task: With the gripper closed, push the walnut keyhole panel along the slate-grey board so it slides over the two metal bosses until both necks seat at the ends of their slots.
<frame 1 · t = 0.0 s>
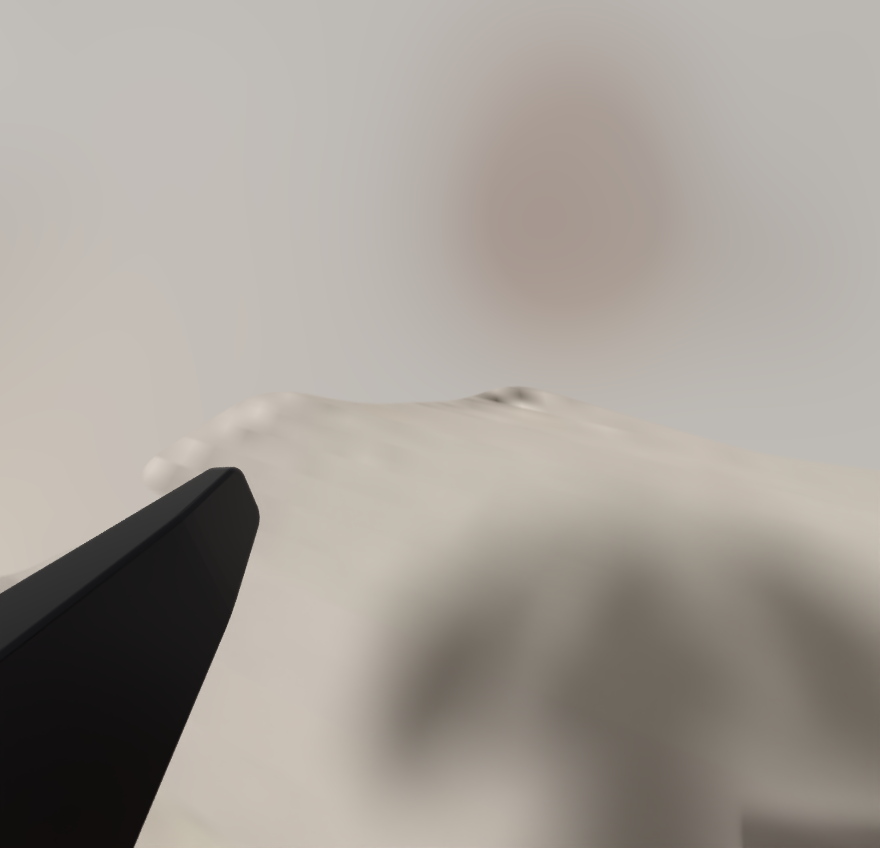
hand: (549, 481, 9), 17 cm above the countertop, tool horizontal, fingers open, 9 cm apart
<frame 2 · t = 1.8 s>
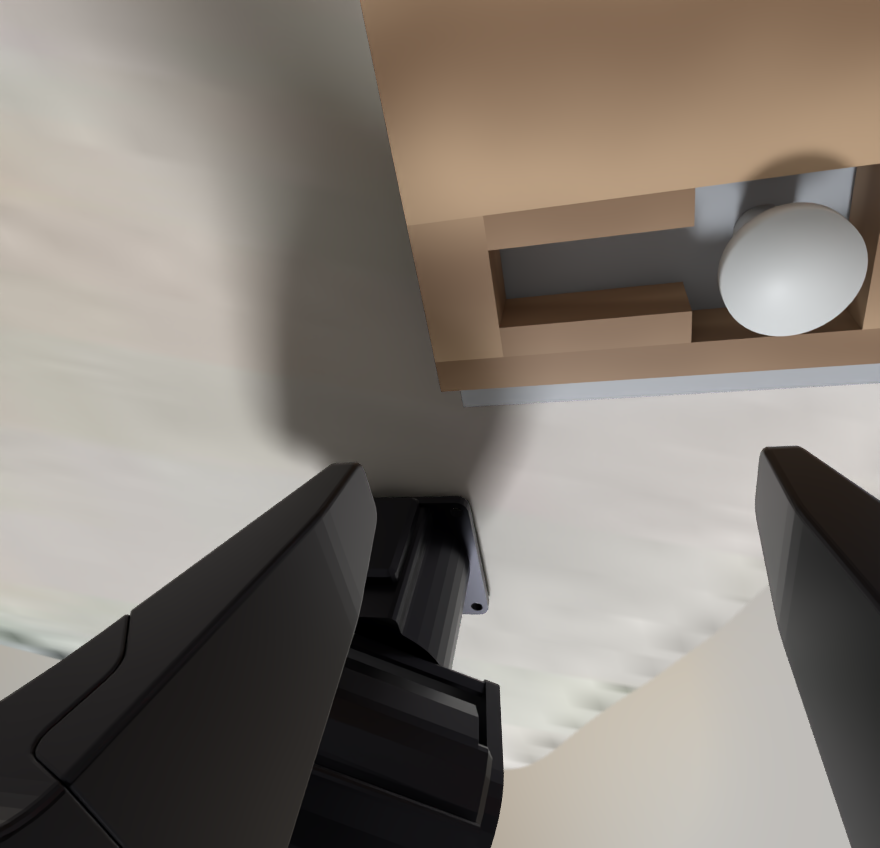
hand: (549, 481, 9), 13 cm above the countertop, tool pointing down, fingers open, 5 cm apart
boss board: (766, 12, 16), on the countertop
panel: (645, 45, 15), point 3 cm above the countertop, slide at 0.0 cm
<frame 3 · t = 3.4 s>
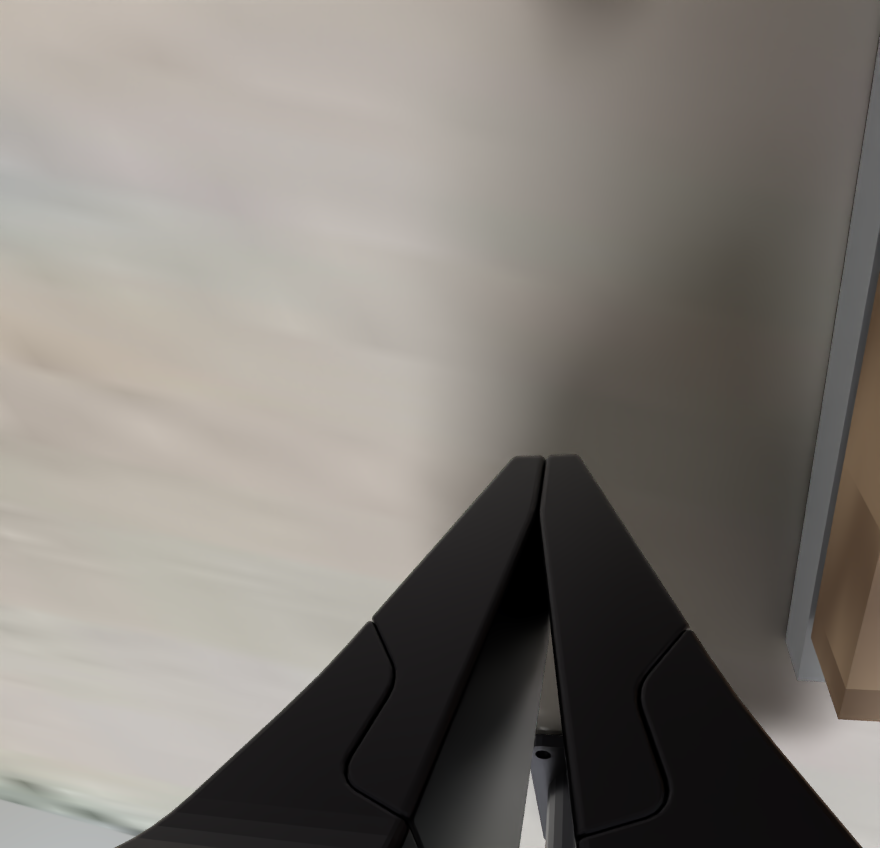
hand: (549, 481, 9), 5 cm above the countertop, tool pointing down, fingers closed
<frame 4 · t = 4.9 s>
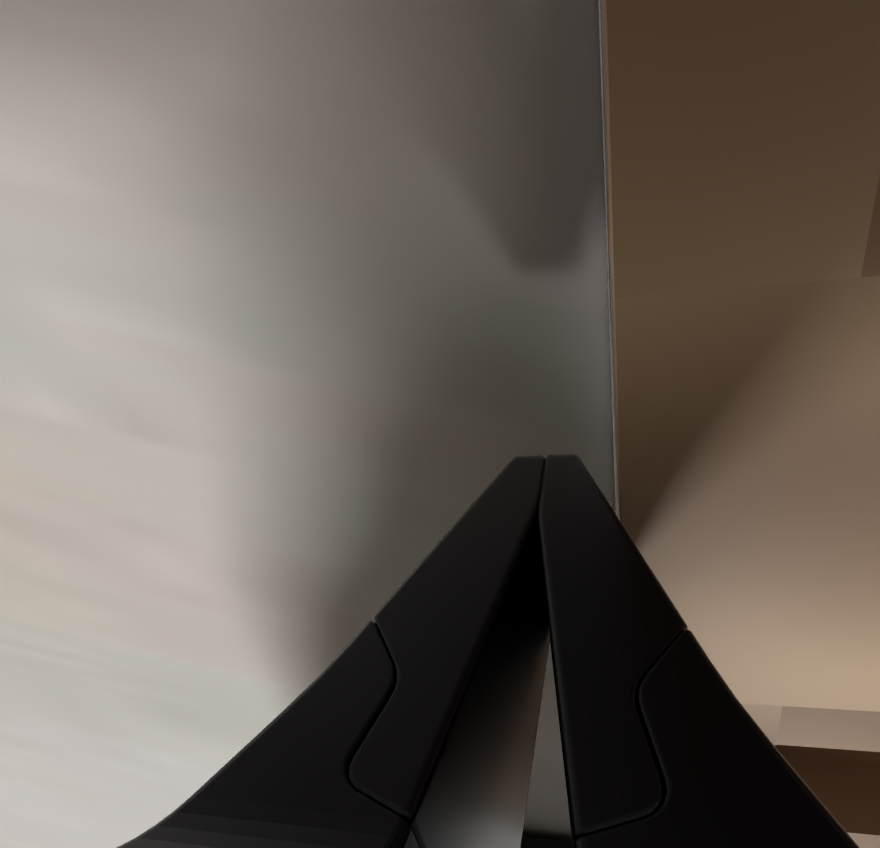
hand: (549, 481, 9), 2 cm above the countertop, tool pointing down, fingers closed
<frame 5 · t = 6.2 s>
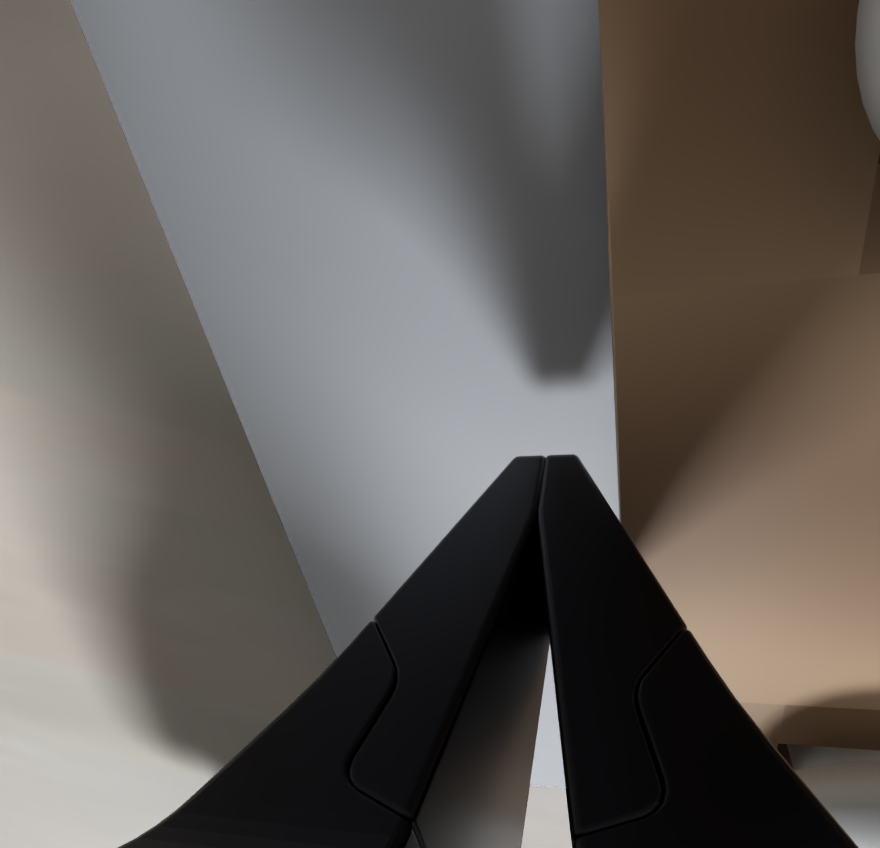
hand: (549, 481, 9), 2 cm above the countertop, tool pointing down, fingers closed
boss board: (828, 372, 10), on the countertop
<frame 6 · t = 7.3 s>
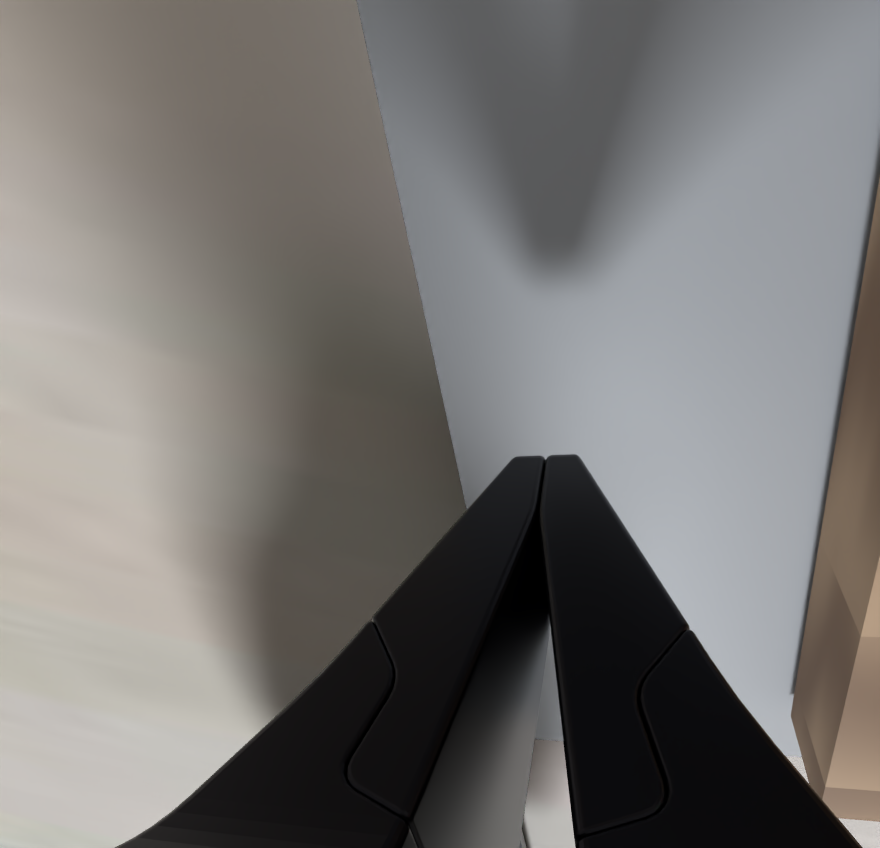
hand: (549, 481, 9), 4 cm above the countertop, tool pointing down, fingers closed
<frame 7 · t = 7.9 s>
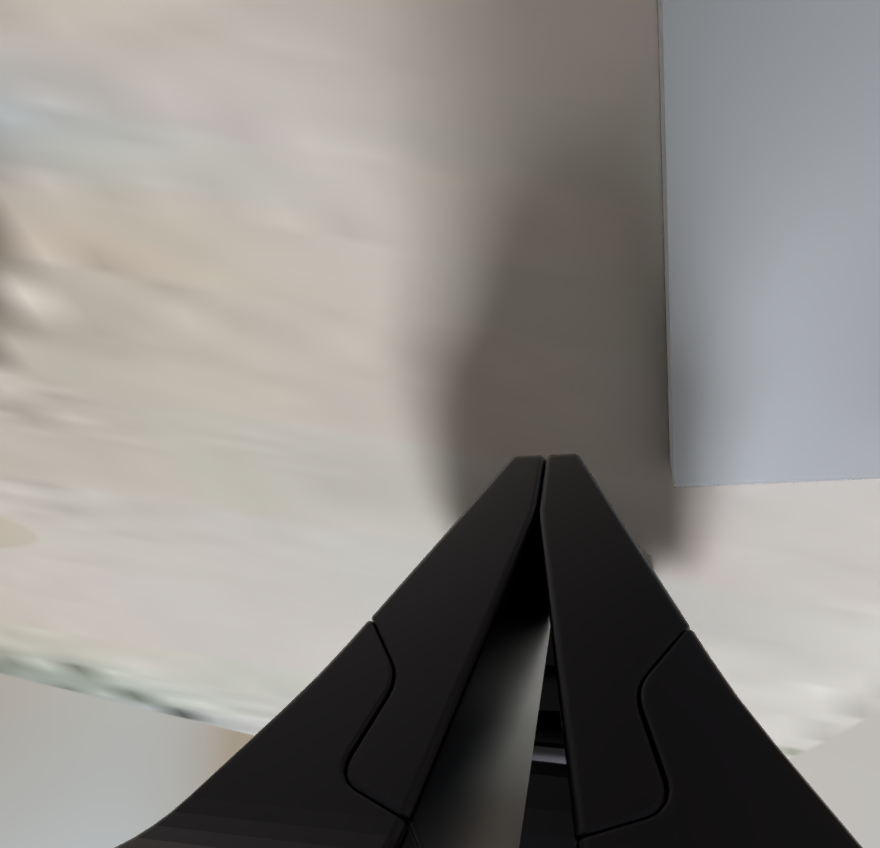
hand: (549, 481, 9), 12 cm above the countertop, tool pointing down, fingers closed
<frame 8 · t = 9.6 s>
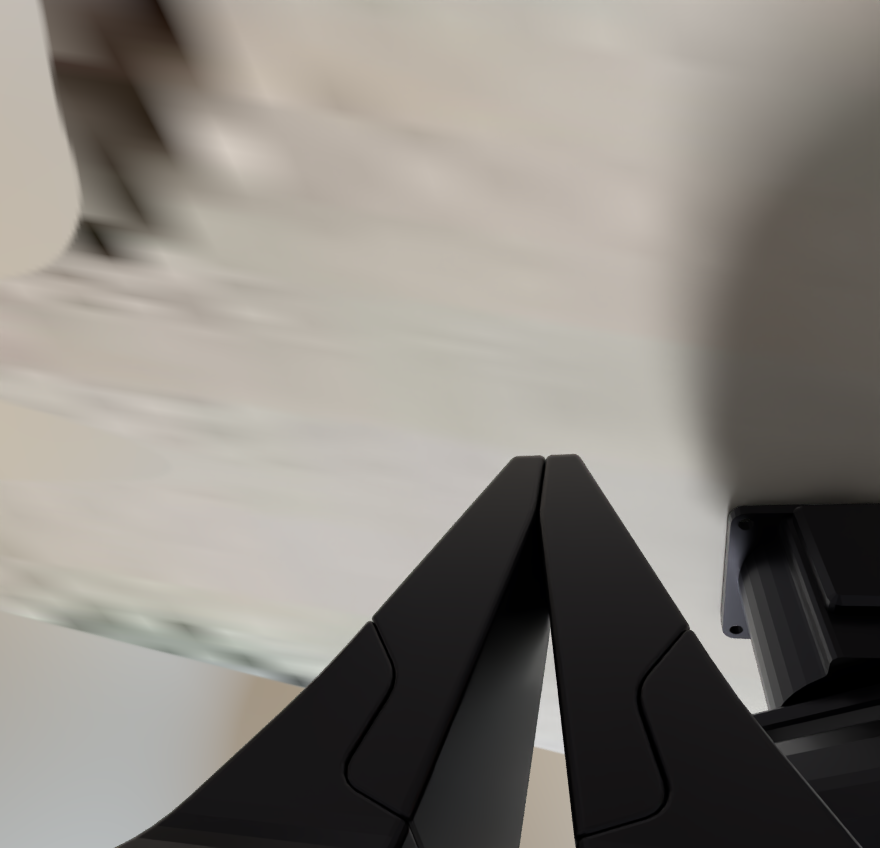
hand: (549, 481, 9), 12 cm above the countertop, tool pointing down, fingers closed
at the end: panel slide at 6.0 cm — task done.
